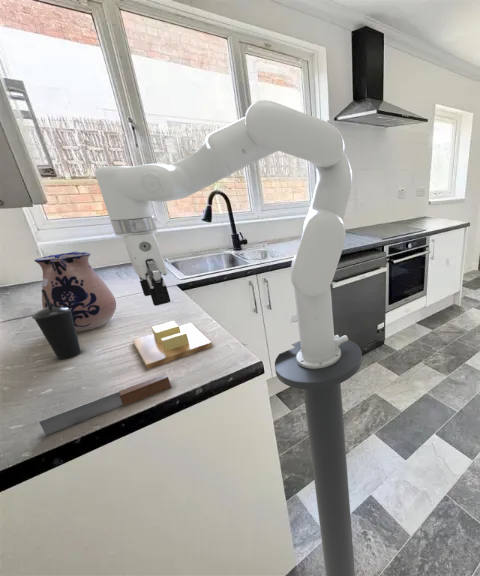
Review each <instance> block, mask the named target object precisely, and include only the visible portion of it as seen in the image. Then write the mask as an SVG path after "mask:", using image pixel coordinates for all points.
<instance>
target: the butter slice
mask: <svg viewBox="0 0 480 576" xmlns="http://www.w3.org/2000/svg"><path fill="white" fill-rule="evenodd" d="M161 342H162V345H163V349H164V351H165V352H166V351H169V350H172V349H175V348H178V347H181V346H184V345H187V344H189V341H188V338H187V334H186V333H185V331H184V332H181V333H178V334H174V335H171V336H168V337H165V338H161Z"/></svg>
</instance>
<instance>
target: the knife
mask: <svg viewBox="0 0 480 576" xmlns="http://www.w3.org/2000/svg"><path fill="white" fill-rule="evenodd" d="M171 388H172V385H171V382H170V377H169V376H168V374H167V373H163V374H161V375H158V376H156V377H153V378H150V379H148V380H145V381H142V382H139V383H137V384H134V385H132V386H129V387H126V388H123V389H121V390H118V391H115V392H113V393H109V394H107V395H105V396H104V395H103V396H102V397H99V398H96V399H94V400H91V401H89V402H86V403H82V404H81V405H77V406H75V407H72V408H70V409H67V410H64V411H62V412H59V413H56V414H53V415H51V416H48V417H46V418H43V419H40V420H38V422H39V425H40V426H41V429H42V431H43V433H44V435H45V436H49V435H51V434H54V433H57V432H59V431H62V430H64V429H67V428H69V427H71V426H74V425H76V424H79V423H81V422H84V421H87V420H89V419H91V418H94V417H96V416H99V415H101V414H104V413H106V412H109V411H111V410H114V409H117V408H119V407H121V406H123V407H126V406H130V405H132V404H134V403H137V402H139V401H141V400H145V399H147V398H150V397H152V396H154V395H156V394H159V393H162V392H164V391H166V390H168V389H171Z"/></svg>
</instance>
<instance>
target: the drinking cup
mask: <svg viewBox="0 0 480 576" xmlns="http://www.w3.org/2000/svg"><path fill="white" fill-rule="evenodd" d="M42 293H43V296H44V298H45V301H46V303H47V305H48V308H45V309H43V308H42V309H40V310H39V311H37V312H35V313H33V314H32V315H31V318H32V319H33V320H34V321H35V322H36V324H37V326H38V327H39V329H40V331H41V332H42V335H43V336H44V338H45V339H46V341H47V342H48V344H49V346H50V347H51V349H52V351H53V353H54V354H55V357H56V358H57V359H58V360H66V359H67V360H68V359H71V358H74V357H76V356H79V355H80V354H81V353H82V350H81V346H80V342H79V337H78V334H77V333H78V332H76V329H75V325H74V321H73V317H72V313H71V310H72V308H71V307H68V306H53V307H52V306H51V303H50V301H49V298H48V296H47V294H46V291H45V290H42V289H41V294H42Z"/></svg>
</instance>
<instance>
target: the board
mask: <svg viewBox="0 0 480 576" xmlns="http://www.w3.org/2000/svg"><path fill="white" fill-rule="evenodd" d="M178 326H179V328H180V332H184V331H185V333H186V334H187V338H188V341H189V344H187V345H184V346H181V347H178V348H175V349H172V350H169V351H166V352H165V351H164V349H163V345H162V343H158V342H157V340H156V339H155V337H154V335H153V333H151V334H147V335H144V336H140V337H136V338H133V339H132V343H133V346H134V347H135V349H136V351H137V353H138V354H139V357H140V358H141V360H142V362H143V364H144V366H145V367H146V369H147V370H150V369H153V368H156V367H159V366H161V365H164V364H168V363H170V362H174V361H176V360H179V359H181V358H184V357H187V356H190V355H192V354H195V353H198V352H202V351H204V350H207V349H209V348H212V347H213V343H212V341H211V340H210V339H209V338H208V337H207V336H205V335H204V334H203V333H202V332H201V331H200V330H199V329H198V328H197V327H196V326H195V325H194V324H193V323H192V322H189V323H185V324H182V325H178Z"/></svg>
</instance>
